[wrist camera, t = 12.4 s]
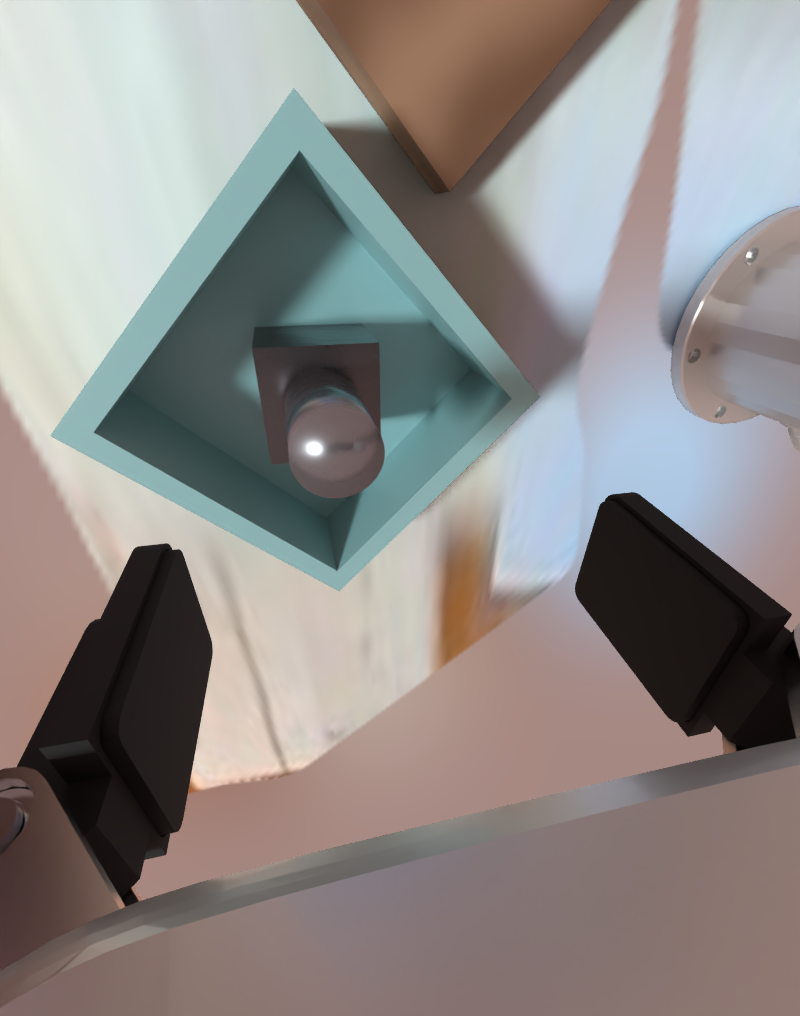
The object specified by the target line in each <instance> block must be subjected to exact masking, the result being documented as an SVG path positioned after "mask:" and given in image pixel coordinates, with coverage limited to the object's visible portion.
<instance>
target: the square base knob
mask: <svg viewBox="0 0 800 1016" xmlns="http://www.w3.org/2000/svg"><path fill="white" fill-rule="evenodd" d="M252 352H253V358H254V364H255V370H256V376H257V382H258V388H259V394H260V400H261V406H262V412H263V418H264V424H265V430H266V436H267V442H268V448H269V454H270V460H271V465H274V464H284V463H289V464H290V468H291V471H292V473H293V475H294V477H295V478H296V480H297V481H298V482H299V483H300V484H301V485H302V486H303V487H304V488H305V489H306V490H308V491H309V492H311V493H313V494H316V495H318V496H321V497H326V498H344V497H348V496H352V495H354V494H357V493H359V492H361V491H363V490H364V489H365V488H367V487H368V486H369V485H370V484H372V483H373V481H374V480H375V479H376V478H377V476H378V475H379V473H380V471H381V469H382V466H383V463H384V458H385V448H384V443H383V440H382V437H381V413H380V348H379V341H378V340H377V339H376V338H375V337H374V336H373V335H372V334H371V333H370V332H369V331H368V330H367V329H366V327H365V326H364V325H363V324H362V323H354V324H327V325H300V326H273V327H255V328H254V335H253V343H252Z"/></svg>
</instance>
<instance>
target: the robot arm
mask: <svg viewBox="0 0 800 1016" xmlns="http://www.w3.org/2000/svg"><path fill="white" fill-rule="evenodd" d="M671 377H672V385H673V388H674V391H675V393H676V396H677V399H678V400H679V401H680V403H681V404H682V405H683V407H684V408H685V409H686V410H688V411H689V412H690V413H692V414H693V415H695V416H697V417H700V418H702V419H704V420H707V421H709V422H714V423H720V424H724V423H725V424H726V423H737V422H740V421H744V420H747V419H751V418H753V417H755V416H757V415H763V416H765V417H768V418H771V419H773V420H776V421H778V422H780V423H781V424H782V425H784V426H785V427H789V428H788V432H789V435H790V438H791V440H792V443H793V445H794V447H795V449H796V450H799V451H800V206H797V207H793V208H788V209H785V210H783V211H781V212H779V213H776V214H774V215H772V216H770V217H768V218H766V219H765V220H763V221H762V222H760V223H759V224H757V225H756V226H754V227H753V228H751V229H750V230H748V231H747V232H746V233H745V234H743V235H742V236H741V237H740V238H739V239H738V240H737V241H736V242H734V243H733V244H732V245H731V246H730V247H729V248H728V249H727V250H726V251H725V252H724V253H723V255H722V256H721V257H720V258H719V259H718V260H717V261H716V263H715V264H714V265H713V266H712V267H711V269H710V270H709V271H708V273H707V274H706V276H705V277H704V279H703V280H702V282H701V283H700V284H699V286H698V287H697V289H696V291H695V293H694V294H693V296H692V298H691V300H690V302H689V304H688V306H687V308H686V309H685V312H684V314H683V317H682V319H681V322H680V325H679V327H678V330H677V333H676V337H675V341H674V346H673V350H672V360H671ZM575 592H576V596H577V598H578V600H579V601H580V603H581V604H582V605H583V606H584V608H585V609H586V611H587V612H588V613H589V614H590V616H591V617H592V618H593V620H594V621H595V622H596V624H597V625H598V626H599V628H600V629H601V630H602V632H603V633H604V634H605V636H606V637H607V638H608V639H609V641H610V642H611V643H612V645H613V646H614V647H615V649H616V650H617V651H618V653H619V654H620V655H621V657H622V658H623V659H624V660H625V662H626V663H627V664H628V666H629V667H630V668H631V670H632V671H633V672H634V674H636V676H637V677H638V679H639V680H640V682H641V683H642V684H643V685H644V687H645V688H646V689H647V691H648V692H649V693H650V695H651V696H652V697H653V699H654V700H655V701H656V703H657V704H658V705H659V706H660V708H661V709H662V710H663V712H664V713H665V714H666V715H667V717H668V718H669V719H671V720H672V721H674V722H677V723H678V724H679V726H680V727H681V728H682V730H683V731H684V732H685V733H686V735H687V736H688V737H689V736H694V735H698V734H702V733H706V732H710V731H711V730H712V729H713V727H714V726H716V727H717V728H718V729H719V730H720V732H721V733H722V742H723V755H719V756H715V757H711V758H707V759H702V760H698V761H693V762H689V763H685V764H680V765H676V766H672V767H668V768H663V769H659V770H655V771H650V772H646V773H642V774H638V775H633V776H629V777H625V778H621V779H617V780H612V781H608V782H604V783H600V784H596V785H591V786H587V787H583V788H578V789H575V790H570V791H566V792H562V793H557V794H553V795H549V796H545V797H541V798H537V799H532V800H528V801H524V802H520V803H516V804H511V805H507V806H503V807H499V808H495V809H491V810H486V811H482V812H478V813H474V814H470V815H466V816H462V817H457V818H453V819H449V820H445V821H441V822H437V823H433V824H429V825H425V826H421V827H417V828H412V829H408V830H404V831H400V832H396V833H392V834H388V835H383V836H379V837H375V838H371V839H367V840H363V841H359V842H355V843H351V844H347V845H343V846H338V847H334V848H330V849H326V850H322V851H318V852H314V853H310V854H306V855H302V856H299V857H295V858H291V859H287V860H283V861H279V862H276V863H272V864H269V865H264V866H260V867H257V868H253V869H249V870H245V871H241V872H238V873H234V874H230V875H227V876H222V877H219V878H215V879H212V880H207V881H204V882H200V883H197V884H193V885H190V886H187V887H184V888H181V889H178V890H174V891H171V892H168V893H165V894H162V895H159V896H155V897H152V898H149V899H146V900H143V901H142V900H141V898H140V896H139V895H138V893H137V891H136V890H135V888H134V884H135V883H136V882H137V881H138V880H139V879H140V876H141V871H142V867H143V863H144V860H145V859H150V858H154V857H159V856H163V855H166V853H167V848H168V842H169V837H170V833H173V832H177V831H179V829H180V827H181V825H182V821H183V817H184V811H185V805H186V800H187V794H188V789H189V783H190V778H191V772H192V766H193V761H194V755H195V750H196V744H197V738H198V733H199V727H200V722H201V716H202V710H203V705H204V699H205V694H206V688H207V683H208V677H209V671H210V666H211V660H212V641H211V637H210V634H209V631H208V628H207V625H206V622H205V619H204V616H203V613H202V610H201V607H200V604H199V601H198V598H197V595H196V592H195V589H194V586H193V583H192V580H191V577H190V574H189V571H188V568H187V565H186V562H185V559H184V556H183V553H182V551H181V550H179V549H178V550H172V548H171V546H170V545H169V544H158V545H149V546H140V547H136V548H135V549H134V550H133V552H132V554H131V556H130V558H129V560H128V562H127V564H126V566H125V568H124V570H123V573H122V575H121V577H120V579H119V581H118V583H117V585H116V587H115V589H114V591H113V593H112V596H111V598H110V600H109V602H108V604H107V606H106V608H105V610H104V612H103V614H102V617H101V619H97V620H94V621H93V622H91V623H90V624H89V625H88V627H87V628H86V630H85V632H84V634H83V636H82V638H81V640H80V642H79V644H78V646H77V648H76V650H75V652H74V654H73V656H72V658H71V660H70V662H69V664H68V666H67V668H66V670H65V672H64V674H63V676H62V678H61V680H60V682H59V684H58V686H57V688H56V690H55V692H54V694H53V696H52V698H51V700H50V702H49V704H48V706H47V708H46V710H45V712H44V714H43V716H42V718H41V720H40V722H39V724H38V726H37V728H36V730H35V732H34V734H33V736H32V738H31V740H30V742H29V744H28V746H27V748H26V749H25V752H24V754H23V756H22V757H21V760H20V761H19V763H18V765H17V767H13V768H4V769H1V770H0V1016H800V624H798V625H797V627H796V628H795V629H794V630H793V632H792V633H791V632H790V631H789V630H788V629H786V628H785V627H784V625H785V624H786V623H787V621H788V620H789V618H790V617H791V615H792V614H791V613H790V612H789V611H787V610H786V609H785V608H783V607H782V606H781V605H780V604H778V603H777V602H776V601H775V600H773V599H772V598H771V597H769V596H768V595H767V594H766V593H764V592H763V591H762V590H761V589H759V588H758V587H756V586H755V585H754V584H753V583H752V582H750V581H749V580H748V579H747V578H745V577H744V576H743V575H741V574H740V573H739V572H737V571H736V570H735V569H734V568H732V567H731V566H730V565H729V564H727V563H726V562H725V561H723V560H722V559H721V558H720V557H718V556H717V555H716V554H715V553H713V552H712V551H711V550H709V549H708V548H707V547H706V546H704V545H703V544H702V543H700V542H699V541H698V540H697V539H695V538H694V537H693V536H692V535H690V534H689V533H688V532H686V531H685V530H684V529H683V528H681V527H680V526H679V525H678V524H676V523H675V522H674V521H672V520H671V519H670V518H669V517H667V516H666V515H665V514H663V513H662V512H661V511H660V510H658V509H657V508H656V507H654V506H653V505H652V504H651V503H649V502H648V501H647V500H645V499H644V498H643V497H642V496H641V495H639V494H637V493H633V492H631V493H621V494H613V495H610V496H608V497H607V498H606V499H605V502H602V503H601V504H600V506H599V509H598V512H597V516H596V519H595V523H594V526H593V529H592V532H591V535H590V539H589V542H588V545H587V549H586V552H585V555H584V559H583V562H582V565H581V569H580V572H579V575H578V578H577V582H576V585H575Z"/></svg>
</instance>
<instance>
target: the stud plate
mask: <svg viewBox="0 0 800 1016" xmlns="http://www.w3.org/2000/svg"><path fill="white" fill-rule="evenodd" d="M296 1H297V2H298V4H299V5H300V7H301V8H302V9H303V11H304V12H305V13H306V15H307V16H308V18H309V19H310V20H311V22H312V23H313V25H314V26H315V27H316V29H317V30H318V32H319V33H320V34H321V36H322V37H323V38H324V40H325V41H326V43H327V44H328V45H329V47H330V48H331V50H332V51H333V52H334V54H335V55H336V57H337V58H338V59H339V61H340V62H341V63H342V65H343V66H344V68H345V69H346V70H347V72H348V73H349V75H350V76H351V77H352V79H353V80H354V82H355V83H356V84H357V86H358V87H359V88H360V90H361V91H362V93H363V94H364V95H365V97H366V98H367V100H368V101H369V102H370V104H371V105H372V107H373V108H374V109H375V111H376V112H377V113H378V115H379V116H380V118H381V119H382V120H383V122H384V123H385V125H386V126H387V127H388V129H389V130H390V132H391V133H392V134H393V136H394V137H395V138H396V140H397V141H398V143H399V144H400V145H401V147H402V148H403V150H404V151H405V152H406V154H407V155H408V157H409V158H410V159H411V161H412V162H413V163H414V165H415V166H416V168H417V169H418V170H419V172H420V173H421V175H422V176H423V177H424V179H425V180H426V182H427V183H428V184H429V186H430V187H431V188H432V190H433V191H434V193H435V194H437V193H443V192H449V191H451V190H452V188H453V187H454V186H455V185H456V184H457V182H458V181H459V180H460V179H461V178H462V177H463V175H464V174H465V173H466V172H467V171H468V169H469V168H470V167H471V166H472V165H473V163H474V162H475V161H476V160H477V159H478V158H479V156H480V155H481V154H482V153H483V152H484V150H485V149H486V148H487V147H488V146H489V145H490V143H491V142H492V141H493V140H494V139H495V137H496V136H497V135H498V134H499V133H500V131H501V130H502V129H503V128H504V127H505V126H506V124H507V123H508V122H509V121H510V120H511V118H512V117H513V116H514V115H515V114H516V113H517V111H518V110H519V109H520V108H521V107H522V105H523V104H524V103H525V102H526V101H527V99H528V98H529V97H530V96H531V95H532V94H533V92H534V91H535V90H536V89H537V88H538V86H539V85H540V84H541V83H542V82H543V81H544V79H545V78H546V77H547V76H548V75H549V73H550V72H551V71H552V70H553V69H554V68H555V66H556V65H557V64H558V63H559V62H560V60H561V59H562V58H563V57H564V56H565V54H566V53H567V52H568V51H569V50H570V49H571V47H572V46H573V45H574V44H575V43H576V41H577V40H578V39H579V38H580V37H581V36H582V34H583V33H584V32H585V31H586V30H587V28H588V27H589V26H590V25H591V24H592V22H593V21H594V20H595V19H596V18H597V17H598V15H599V14H600V13H601V12H602V11H603V9H604V8H605V7H606V6H607V5H608V4H609V2H610V1H611V0H296Z"/></svg>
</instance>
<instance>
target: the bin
mask: <svg viewBox="0 0 800 1016" xmlns="http://www.w3.org/2000/svg"><path fill="white" fill-rule="evenodd" d="M354 323H362V324H363V325H364V326H365V327H366V329H367V330H368V331H369V332H370V333H371V334H372V335H373V336H374V337H375V338H376V339H377V340H378V341H379V348H380V413H381V437H382V440H383V443H384V448H385V458H384V463H383V466H382V469H381V471H380V473H379V475H378V476H377V478H376V479H375V480H374V481H373V483H372V484H370V485H369V486H368V487H367V488H365V489H364V490H363V491H361V492H359V493H357V494H354V495H352V496H348V497H344V498H326V497H321V496H318V495H316V494H313V493H311V492H309V491H308V490H306V489H305V488H304V487H303V486H302V485H301V484H300V483H299V482H298V481H297V480H296V478H295V477H294V475H293V473H292V471H291V468H290V464H289V463H284V464H274V465H271V460H270V454H269V448H268V442H267V436H266V430H265V424H264V418H263V412H262V406H261V400H260V394H259V388H258V382H257V376H256V370H255V364H254V358H253V352H252V343H253V335H254V328H255V327H273V326H300V325H327V324H354ZM539 397H540V396H539V394H538V393H537V392H536V391H535V389H534V388H533V387H532V386H531V384H530V383H529V382H528V381H527V379H526V378H525V377H524V376H523V374H522V373H521V372H520V371H519V369H518V368H517V367H516V366H515V364H514V363H513V362H512V361H511V359H510V358H509V357H508V356H507V354H506V353H505V352H504V351H503V349H502V348H501V347H500V346H499V344H498V343H497V342H496V341H495V339H494V338H493V337H492V336H491V334H490V333H489V332H488V331H487V329H486V328H485V327H484V325H483V324H482V323H481V322H480V320H479V319H478V318H477V317H476V315H475V314H474V313H473V312H472V310H471V309H470V308H469V307H468V305H467V304H466V303H465V302H464V300H463V299H462V298H461V297H460V295H459V294H458V293H457V292H456V290H455V289H454V288H453V287H452V285H451V284H450V283H449V282H448V280H447V279H446V278H445V277H444V275H443V274H442V273H441V272H440V270H439V269H438V268H437V267H436V265H435V264H434V263H433V262H432V260H431V259H430V258H429V257H428V255H427V254H426V253H425V251H424V250H423V249H422V248H421V246H420V245H419V244H418V243H417V241H416V240H415V239H414V238H413V236H412V235H411V234H410V233H409V231H408V230H407V229H406V228H405V226H404V225H403V224H402V223H401V221H400V220H399V219H398V218H397V216H396V215H395V214H394V213H393V211H392V210H391V209H390V208H389V206H388V205H387V204H386V203H385V201H384V200H383V199H382V198H381V196H380V195H379V194H378V193H377V191H376V190H375V189H374V188H373V186H372V185H371V184H370V183H369V181H368V180H367V179H366V178H365V176H364V175H363V174H362V172H361V171H360V170H359V169H358V167H357V166H356V165H355V164H354V162H353V161H352V160H351V159H350V157H349V156H348V155H347V154H346V152H345V151H344V150H343V149H342V147H341V146H340V145H339V144H338V142H337V141H336V140H335V139H334V137H333V136H332V135H331V134H330V132H329V131H328V130H327V129H326V127H325V126H324V125H323V124H322V122H321V121H320V120H319V119H318V117H317V116H316V115H315V114H314V112H313V111H312V110H311V109H310V107H309V106H308V105H307V104H306V102H305V101H304V100H303V98H302V97H301V96H300V95H299V93H298V92H297V91H296V90H295V88H294V89H293V90H292V92H291V93H290V94H289V96H288V97H287V99H286V100H285V102H284V103H283V104H282V106H281V107H280V109H279V110H278V112H277V113H276V114H275V116H274V117H273V119H272V120H271V121H270V123H269V124H268V126H267V127H266V129H265V130H264V131H263V133H262V134H261V136H260V137H259V139H258V140H257V141H256V143H255V144H254V146H253V147H252V149H251V150H250V151H249V153H248V154H247V156H246V157H245V159H244V160H243V161H242V163H241V164H240V166H239V167H238V169H237V170H236V171H235V173H234V174H233V176H232V177H231V179H230V180H229V181H228V183H227V184H226V186H225V187H224V189H223V190H222V191H221V193H220V194H219V196H218V197H217V199H216V200H215V201H214V203H213V204H212V206H211V207H210V209H209V210H208V211H207V213H206V214H205V216H204V217H203V219H202V220H201V221H200V223H199V224H198V226H197V227H196V229H195V230H194V231H193V233H192V234H191V236H190V237H189V239H188V240H187V241H186V243H185V244H184V246H183V247H182V249H181V250H180V251H179V253H178V254H177V256H176V257H175V259H174V260H173V261H172V263H171V264H170V266H169V267H168V269H167V270H166V271H165V273H164V274H163V276H162V277H161V278H160V280H159V281H158V283H157V284H156V286H155V287H154V288H153V290H152V291H151V293H150V294H149V296H148V297H147V298H146V300H145V301H144V303H143V304H142V306H141V307H140V308H139V310H138V311H137V313H136V314H135V316H134V317H133V318H132V320H131V321H130V323H129V324H128V326H127V327H126V328H125V330H124V331H123V333H122V334H121V336H120V337H119V338H118V340H117V341H116V343H115V344H114V346H113V347H112V348H111V350H110V351H109V353H108V354H107V356H106V357H105V358H104V360H103V361H102V363H101V364H100V366H99V367H98V368H97V370H96V371H95V373H94V374H93V376H92V377H91V378H90V380H89V381H88V383H87V384H86V386H85V387H84V388H83V390H82V391H81V393H80V394H79V396H78V397H77V398H76V400H75V401H74V403H73V404H72V406H71V407H70V408H69V410H68V411H67V413H66V414H65V416H64V417H63V418H62V420H61V421H60V423H59V424H58V426H57V427H56V428H55V430H54V431H53V433H52V434H51V436H52V437H53V438H55V439H57V440H59V441H61V442H63V443H65V444H66V445H68V446H70V447H72V448H74V449H76V450H78V451H79V452H81V453H83V454H85V455H87V456H89V457H91V458H92V459H94V460H96V461H98V462H100V463H102V464H104V465H105V466H107V467H109V468H111V469H113V470H115V471H117V472H118V473H120V474H122V475H124V476H126V477H128V478H130V479H131V480H133V481H135V482H137V483H139V484H141V485H143V486H144V487H146V488H148V489H150V490H152V491H154V492H156V493H157V494H159V495H161V496H163V497H165V498H167V499H169V500H170V501H172V502H174V503H176V504H178V505H180V506H182V507H183V508H185V509H187V510H189V511H191V512H193V513H195V514H196V515H198V516H200V517H202V518H204V519H206V520H208V521H209V522H211V523H213V524H215V525H217V526H219V527H221V528H222V529H224V530H226V531H228V532H230V533H232V534H234V535H235V536H237V537H239V538H241V539H243V540H245V541H247V542H248V543H250V544H252V545H254V546H256V547H258V548H260V549H262V550H263V551H265V552H267V553H269V554H271V555H273V556H275V557H276V558H278V559H280V560H282V561H284V562H286V563H288V564H289V565H291V566H293V567H295V568H297V569H299V570H301V571H302V572H304V573H306V574H308V575H310V576H312V577H314V578H315V579H317V580H319V581H321V582H323V583H325V584H327V585H328V586H330V587H332V588H334V589H336V590H338V591H340V590H341V589H342V588H343V587H344V586H345V585H346V584H347V583H348V582H349V581H350V580H351V579H352V578H353V577H354V576H355V575H356V574H358V573H359V572H360V571H361V570H362V569H363V568H364V567H365V566H366V565H367V564H368V563H369V562H370V561H371V560H372V559H373V558H374V557H375V556H376V555H377V554H378V553H379V552H380V551H381V550H382V549H383V548H384V547H385V546H386V545H388V544H389V543H390V542H391V541H392V540H393V539H394V538H395V537H396V536H397V535H398V534H399V533H400V532H401V531H402V530H403V529H404V528H405V527H406V526H407V525H408V524H409V523H410V522H411V521H412V520H413V519H414V518H415V517H416V516H417V515H419V514H420V513H421V512H422V511H423V510H424V509H425V508H426V507H427V506H428V505H429V504H430V503H431V502H432V501H433V500H434V499H435V498H436V497H437V496H438V495H439V494H440V493H441V492H442V491H443V490H444V489H445V488H446V487H447V486H448V485H450V484H451V483H452V482H453V481H454V480H455V479H456V478H457V477H458V476H459V475H460V474H461V473H462V472H463V471H464V470H465V469H466V468H467V467H468V466H469V465H470V464H471V463H472V462H473V461H474V460H475V459H476V458H477V457H478V456H479V455H481V454H482V453H483V452H484V451H485V450H486V449H487V448H488V447H489V446H490V445H491V444H492V443H493V442H494V441H495V440H496V439H497V438H498V437H499V436H500V435H501V434H502V433H503V432H504V431H505V430H506V429H507V428H508V427H509V426H510V425H512V424H513V423H514V422H515V421H516V420H517V419H518V418H519V417H520V416H521V415H522V414H523V413H524V412H525V411H526V410H527V409H528V408H529V407H530V406H531V405H532V404H533V403H534V402H535V401H536V400H537V399H538V398H539Z"/></svg>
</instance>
